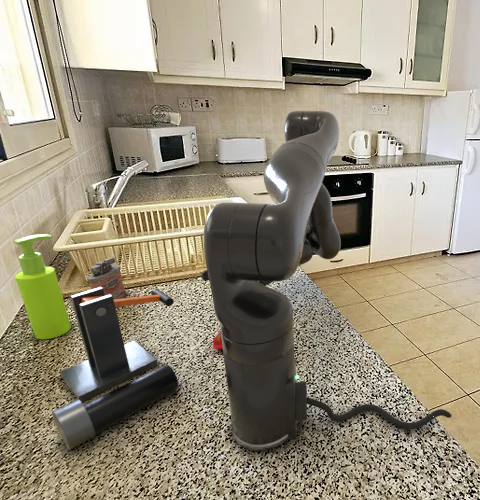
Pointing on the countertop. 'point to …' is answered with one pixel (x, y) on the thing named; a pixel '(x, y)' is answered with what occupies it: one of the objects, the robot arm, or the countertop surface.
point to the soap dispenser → (41, 292)
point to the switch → (139, 299)
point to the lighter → (107, 278)
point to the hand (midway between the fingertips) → (214, 282)
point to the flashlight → (112, 406)
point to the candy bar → (218, 342)
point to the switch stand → (103, 348)
